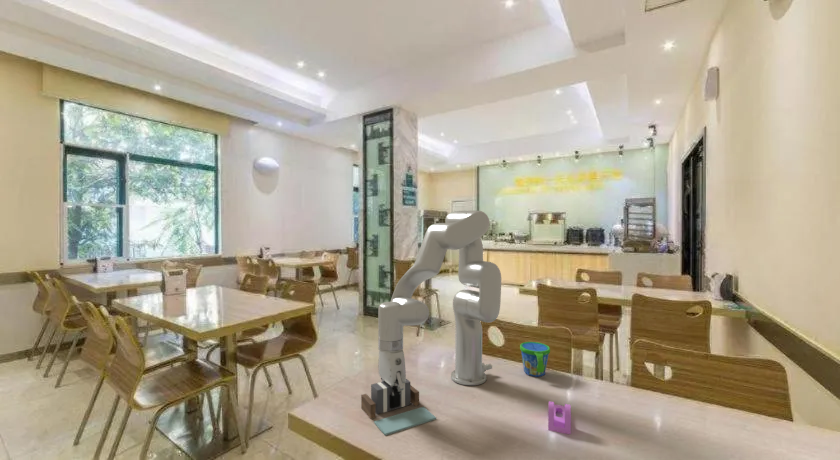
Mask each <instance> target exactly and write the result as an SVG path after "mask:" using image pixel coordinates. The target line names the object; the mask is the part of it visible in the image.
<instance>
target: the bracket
mask: <svg viewBox="0 0 840 460" xmlns="http://www.w3.org/2000/svg"><path fill="white" fill-rule="evenodd" d="M571 409H572V407H571V404H569V403H568V404H567V403H564V405H561V404H555V401H550V400H549V401H548V409H547V410H548V411H547V412H548V415H547V416H548V418H547V419H548V420H547V421H548V423H547V424H548V425H547V427H548V428H547V429H548V431H552V432H556V433H562V434H568V435H571V428H572V427H571V425H572V424H571V423H572V422H571V421H572V420H571V419H572V417H571V416H572V413H571V412H572V411H571ZM556 413H560V414H562V417H561V416H557V414H556Z"/></svg>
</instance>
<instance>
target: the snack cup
mask: <svg viewBox="0 0 840 460" xmlns="http://www.w3.org/2000/svg"><path fill="white" fill-rule="evenodd" d="M519 349H520V351H521V361H522V367H523V371H524V373H525V374H526V375H527V376H531V377H536V378H537V377H543V376H545V375H546V371H547V364H548V358H549V354H550V352H551V348H550V346H549V345H548V344H545V343H542V342H536V341H525V342H522V343H520V344H519Z"/></svg>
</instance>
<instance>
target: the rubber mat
mask: <svg viewBox="0 0 840 460" xmlns="http://www.w3.org/2000/svg"><path fill="white" fill-rule="evenodd" d="M435 420H437V417H436V415H434V414H433V413H432V412H430V410H428V409H427V408H426V407H424V406H422V407H417V408H415V409H414V408H413V409H411V410H407V411H405V412H404V411H403V412H401V413H397V414H394V415H391V416H390V415H389V416H387V417H384V418H380V419H376V420H374V421H373V422H374V423H373V424H374V425H375V426H376V427H377V428H378V429H379V430H380V432H381V433H382V435H384V436H388V435H391V434H394V433H397V432H401V431H404V430H406V429H410V428H413V427H416V426H418V425H419V426H420V425H423V424H426V423H428V422H432V421H435Z"/></svg>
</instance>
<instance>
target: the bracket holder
mask: <svg viewBox="0 0 840 460" xmlns="http://www.w3.org/2000/svg"><path fill="white" fill-rule="evenodd" d="M360 396H361V398H360V400H361V409H362V411H363V412H364V413H365V414H366V415H367V416H368V418H369V419H370V420H372V419H375V418H376V412H375V409H376V404H375V403H374V402H373V400H372V399H371V396H370V395H368V394H367V393H364V394H361V395H360ZM410 404H412V405H413V406H414V407H416V406H419V405H420V391H419V390H417V388H415V387H414V386H412V384H410Z"/></svg>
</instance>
